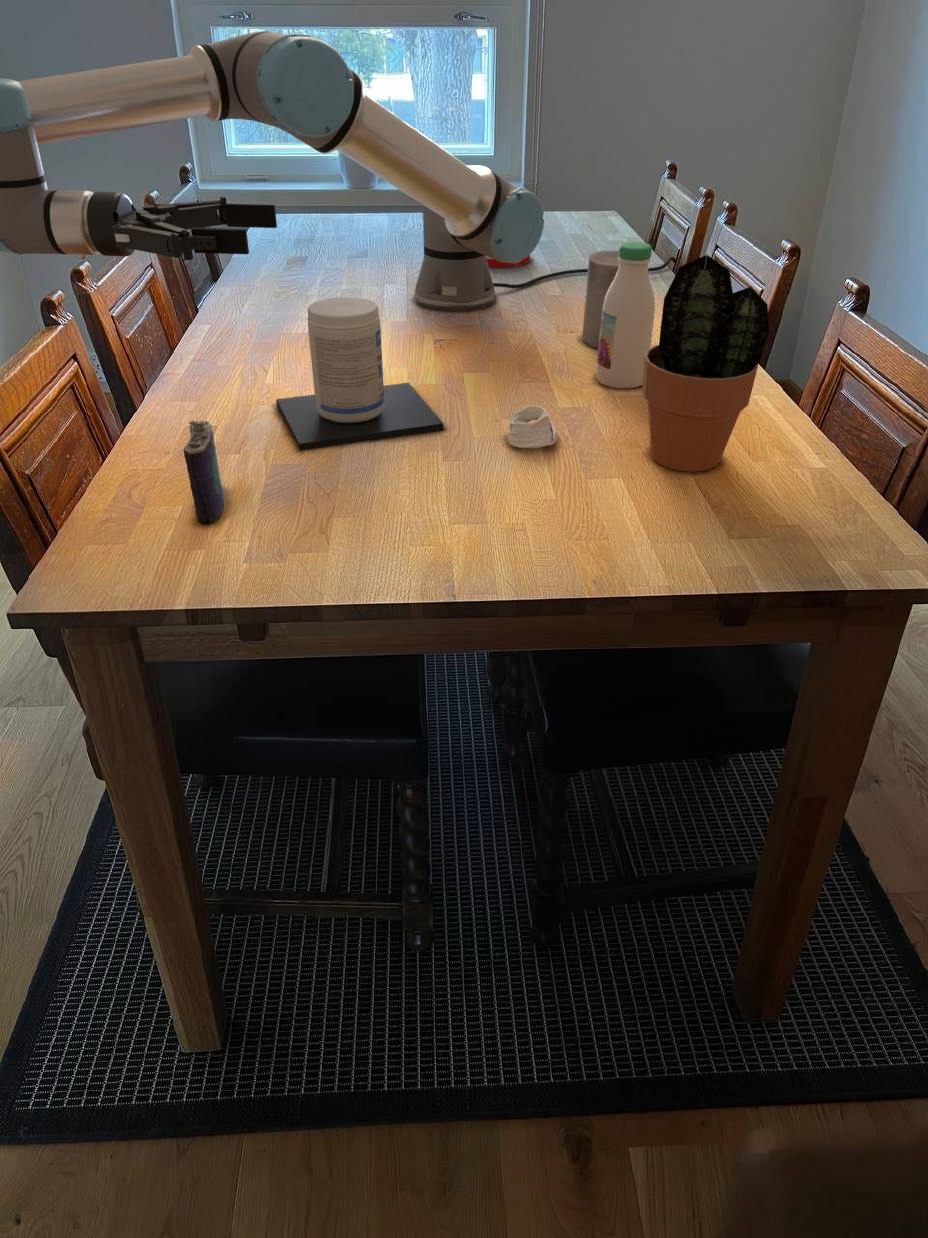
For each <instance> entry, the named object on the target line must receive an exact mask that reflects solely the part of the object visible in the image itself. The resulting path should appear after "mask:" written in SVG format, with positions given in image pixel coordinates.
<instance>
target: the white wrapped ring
mask: <svg viewBox="0 0 928 1238" xmlns="http://www.w3.org/2000/svg"><path fill="white" fill-rule="evenodd" d="M507 426H508V427H507V440H508V443H509V444H510V445H511V446H512V447H514V448H519V449H538V448H544V447H546V446H554V445H555V444H556V443H557V441H558V440H557V438H558V437H557V431H556V429H555V424H554V422H553V420H552V419H551V417H550V414H549V413H548V411H547V410H546V409H545V408H544V407H542V406H540V405H527V406H525V407H522V408H521V409H519V410H516V411H515V412H514V413H513V414H512V416H511V417H510V419H509V422H508V425H507Z"/></svg>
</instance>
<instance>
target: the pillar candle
mask: <svg viewBox="0 0 928 1238" xmlns="http://www.w3.org/2000/svg"><path fill="white" fill-rule="evenodd" d="M618 258H619V249H618V250H616V249H613V250H612V249H610V250H600V251H596V252H593V253H591V254H589V255H588V260H587V261H588V263H587V269H588V272H587V275H586V287H585V288H586V289H585V299H584V309H583V311H584V312H583V324H582V336H581V339H582V341H583V342H585V344H587V345H588V346H590V347H592V348H596V349H598V348H599V338H600V329H601V319H602V311H603V304H604V300H605V296H606V294H607V291H608V289H609V287H610V285H611V284H612V282H613V280H614V278H615V276H616V273H617V271H618V268H619V260H618Z"/></svg>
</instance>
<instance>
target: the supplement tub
mask: <svg viewBox="0 0 928 1238" xmlns="http://www.w3.org/2000/svg"><path fill="white" fill-rule="evenodd" d="M306 319H307V329H308V338H309V339H308V341H309V349H310V359H311V371H312V380H313V388H314V395H315V400H316V408H317V411H318V413H319V414H320V415H321V416H322V417H323V418H325V419H327V420H330V421H333V422H338V423H358V422H363V421H367V420H370V419H373V418H375V417H377V416H378V415H380V414H381V413H382V411H383V409H384V386H385V385H384V367H383V351H382V330H381V329H382V328H381V315H380V313H379V306H378V304H377V302H376V301H374V300H373V299H370V298H365V297H360V296H333V297H326V298H321V299H318V300H316V301H313V302H311V303H310V304H308V305H307V317H306Z"/></svg>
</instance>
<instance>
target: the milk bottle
mask: <svg viewBox="0 0 928 1238" xmlns="http://www.w3.org/2000/svg"><path fill="white" fill-rule="evenodd" d="M618 250H619V258H618V260H619V268H618V271H617V273H616V276H615V278H614V280H613V282H612V284H611V285H610V287H609V289H608V291H607V294H606V296H605V300H604V304H603V311H602V319H601V329H600V338H599V348H597V360H596V371H595V372H596V373H595V374H596V375H595V378H596V380H597V381H598V382H599V383H600V384H601V385H603V386H607V387H611V388H615V389H634V388H638V387H642V385H643V372H644V358H645V354H646V352H647V351H648V350H649V349H651V345H652V337H653V328H654V320H655V309H656V301H655V293H654V289H653V286H652V283H651V279H650V273H649V272H648V268H649V263H651V257H652V250H653V248H652V245H651V244H649V243H647V242H642V241H626V242H622V243H620V244H619V247H618Z"/></svg>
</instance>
